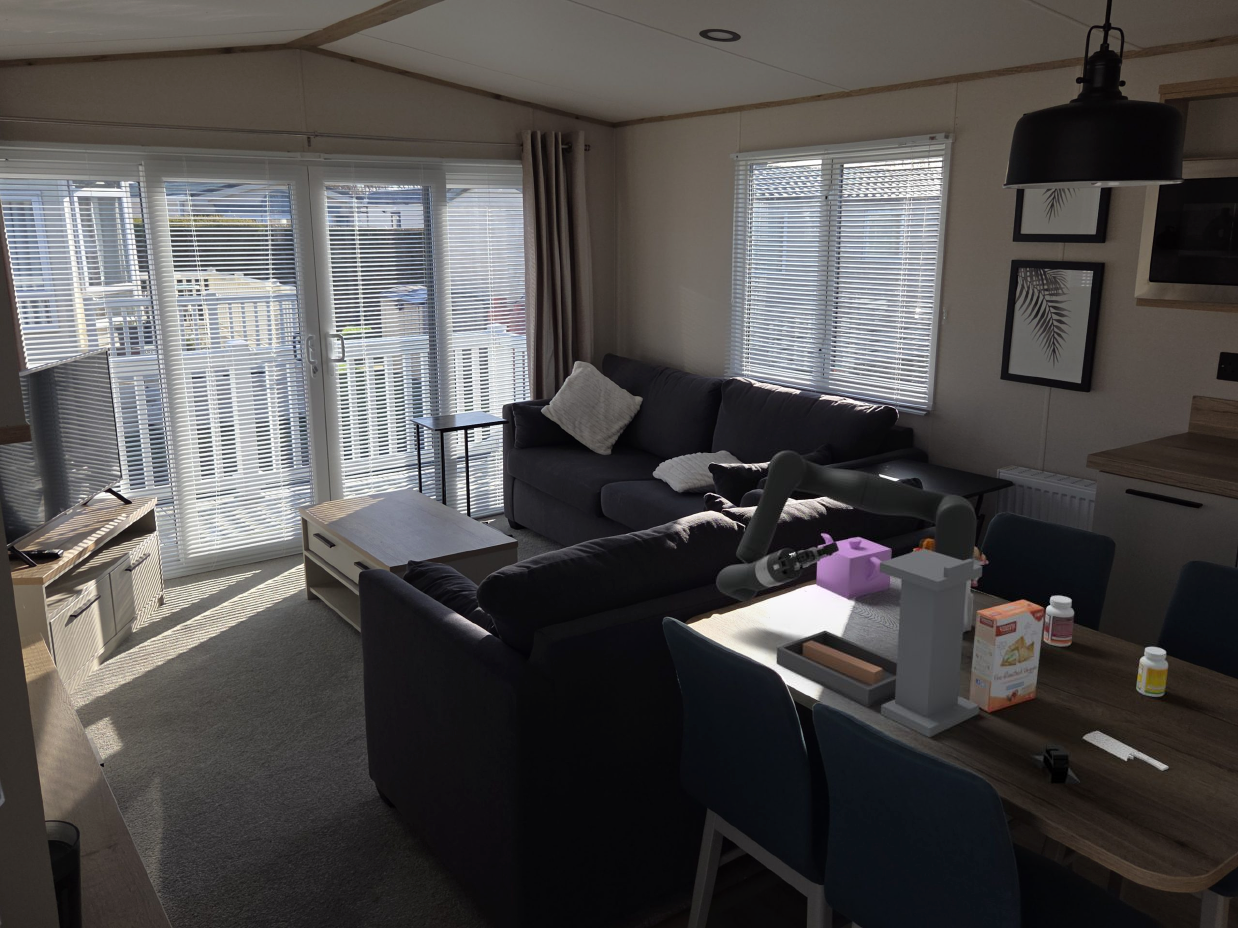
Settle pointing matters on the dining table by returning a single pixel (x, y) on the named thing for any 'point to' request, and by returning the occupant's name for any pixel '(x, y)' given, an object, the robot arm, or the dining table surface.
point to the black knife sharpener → (1055, 765)
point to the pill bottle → (1059, 621)
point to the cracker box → (1006, 655)
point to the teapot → (853, 568)
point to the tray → (835, 679)
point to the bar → (842, 662)
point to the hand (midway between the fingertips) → (823, 550)
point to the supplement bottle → (1152, 672)
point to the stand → (930, 641)
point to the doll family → (980, 559)
